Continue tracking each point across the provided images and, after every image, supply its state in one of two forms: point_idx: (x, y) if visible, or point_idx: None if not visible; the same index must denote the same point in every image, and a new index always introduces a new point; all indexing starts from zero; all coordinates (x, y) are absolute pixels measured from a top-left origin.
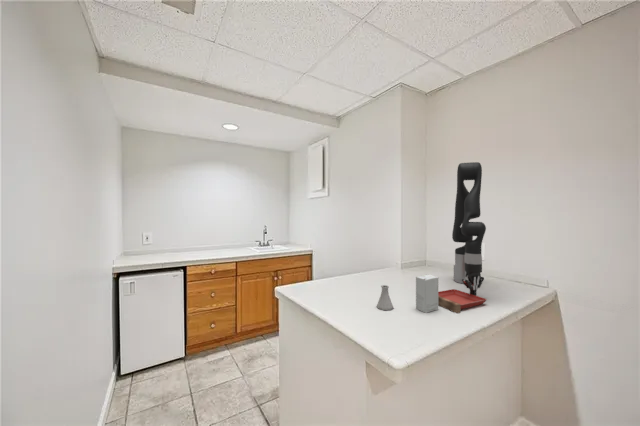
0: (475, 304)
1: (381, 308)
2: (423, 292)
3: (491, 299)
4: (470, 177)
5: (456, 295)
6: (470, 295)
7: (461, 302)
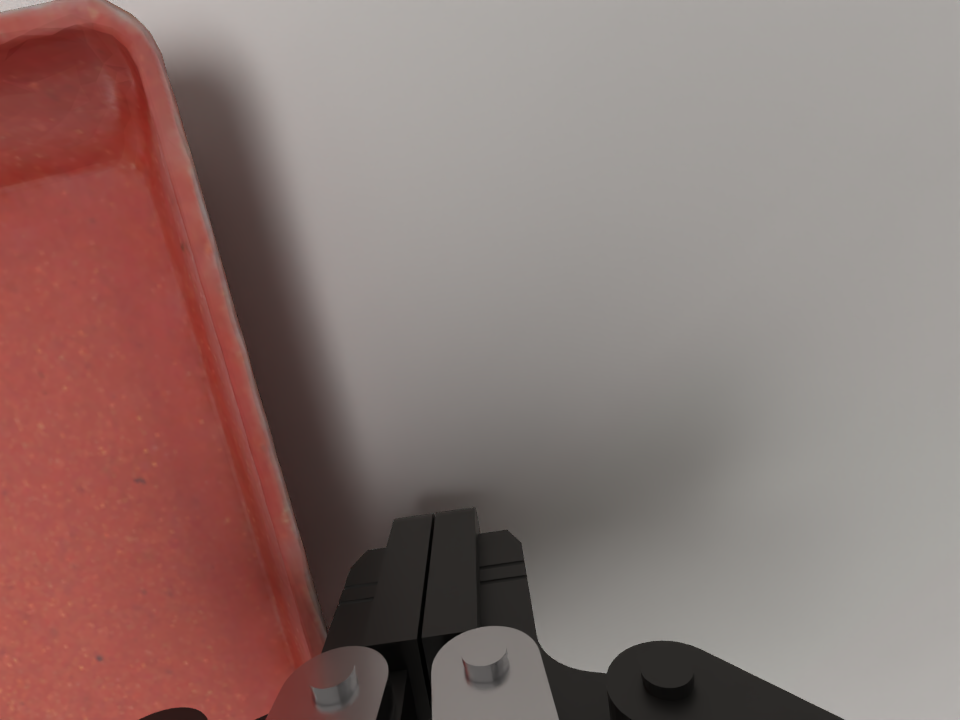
0: None
1: None
2: None
3: (823, 652)
4: None
5: (151, 251)
6: (305, 636)
7: None
